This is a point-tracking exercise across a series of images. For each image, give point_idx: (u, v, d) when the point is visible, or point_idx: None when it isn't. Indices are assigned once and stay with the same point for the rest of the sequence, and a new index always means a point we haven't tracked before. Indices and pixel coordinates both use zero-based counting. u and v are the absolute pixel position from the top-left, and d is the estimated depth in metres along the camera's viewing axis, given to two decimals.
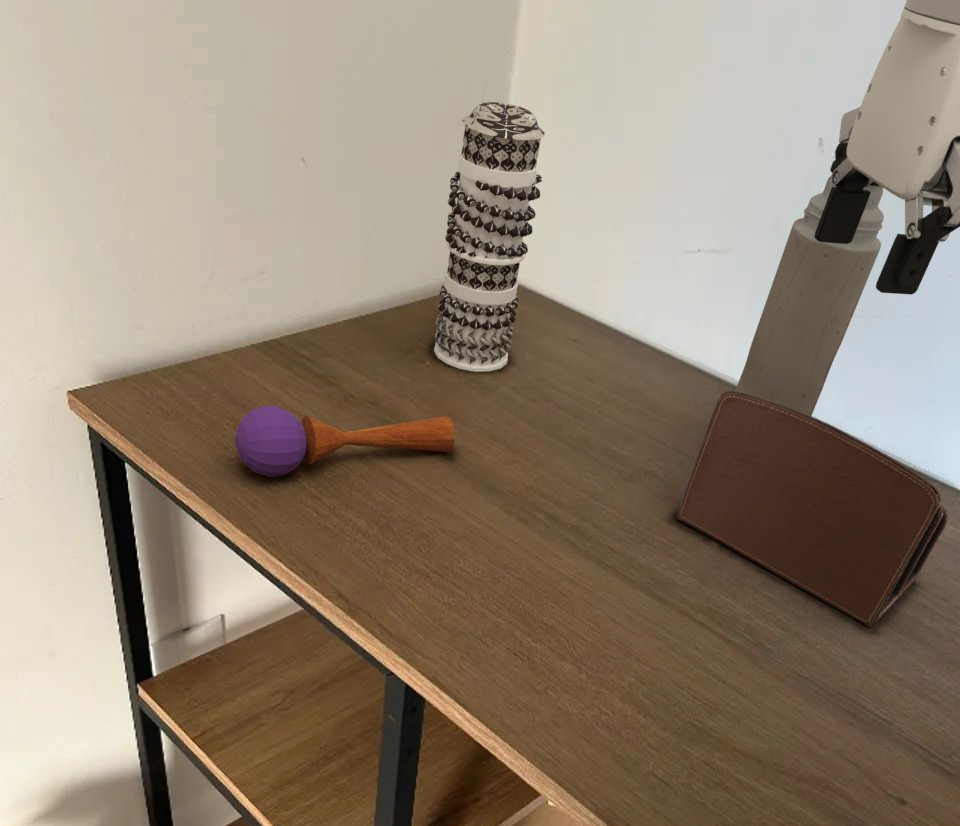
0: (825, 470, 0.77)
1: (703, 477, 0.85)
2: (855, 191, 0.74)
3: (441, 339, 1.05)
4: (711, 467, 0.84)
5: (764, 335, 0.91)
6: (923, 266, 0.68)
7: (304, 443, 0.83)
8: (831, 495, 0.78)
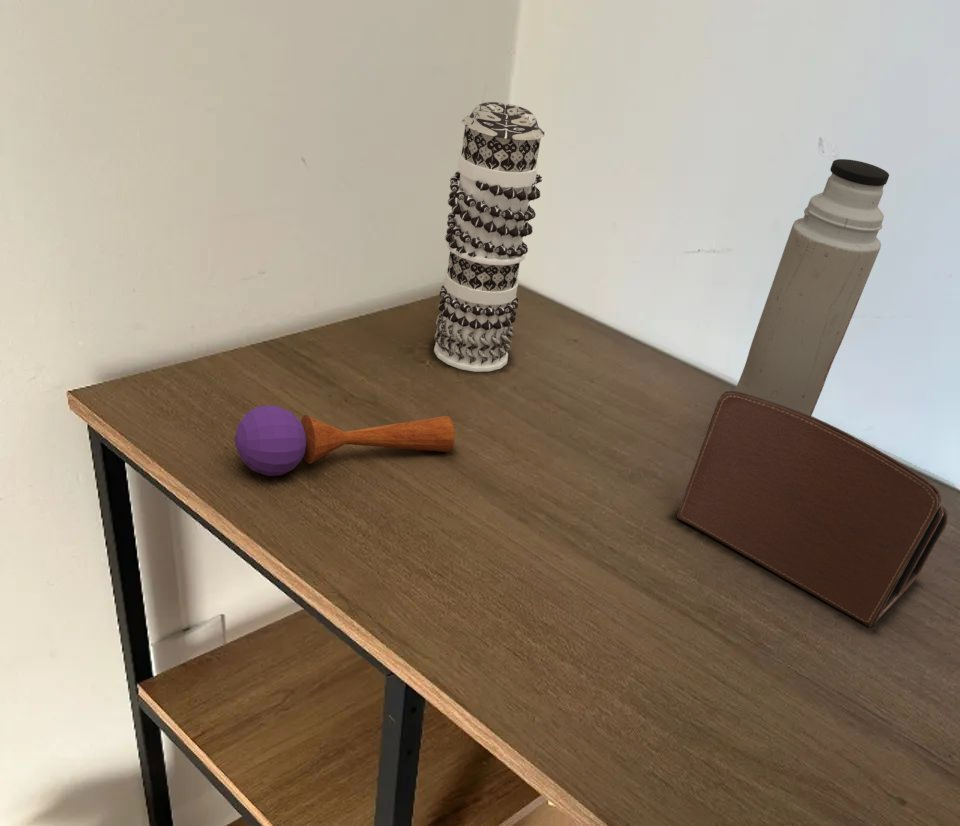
0: (825, 470, 0.77)
1: (703, 476, 0.85)
2: None
3: (441, 339, 1.05)
4: (711, 467, 0.84)
5: (764, 335, 0.91)
6: None
7: (304, 442, 0.83)
8: (832, 495, 0.78)
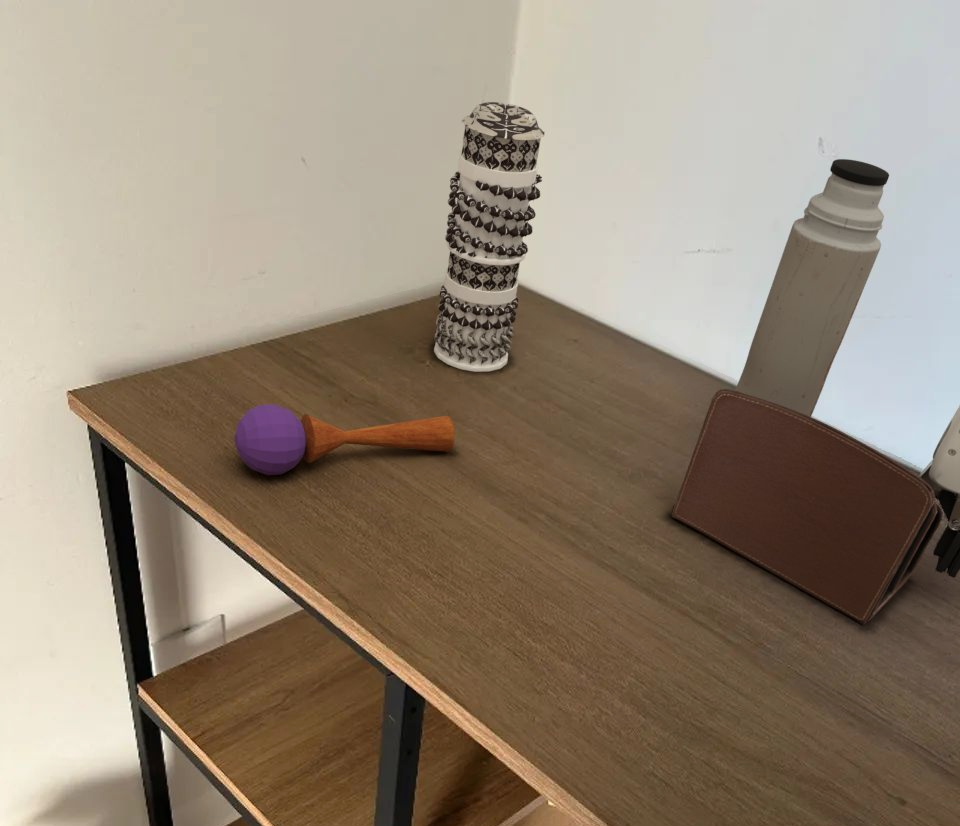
0: (819, 468, 0.77)
1: (698, 475, 0.85)
2: None
3: (441, 339, 1.05)
4: (705, 465, 0.84)
5: (764, 335, 0.91)
6: None
7: (303, 442, 0.83)
8: (826, 493, 0.78)
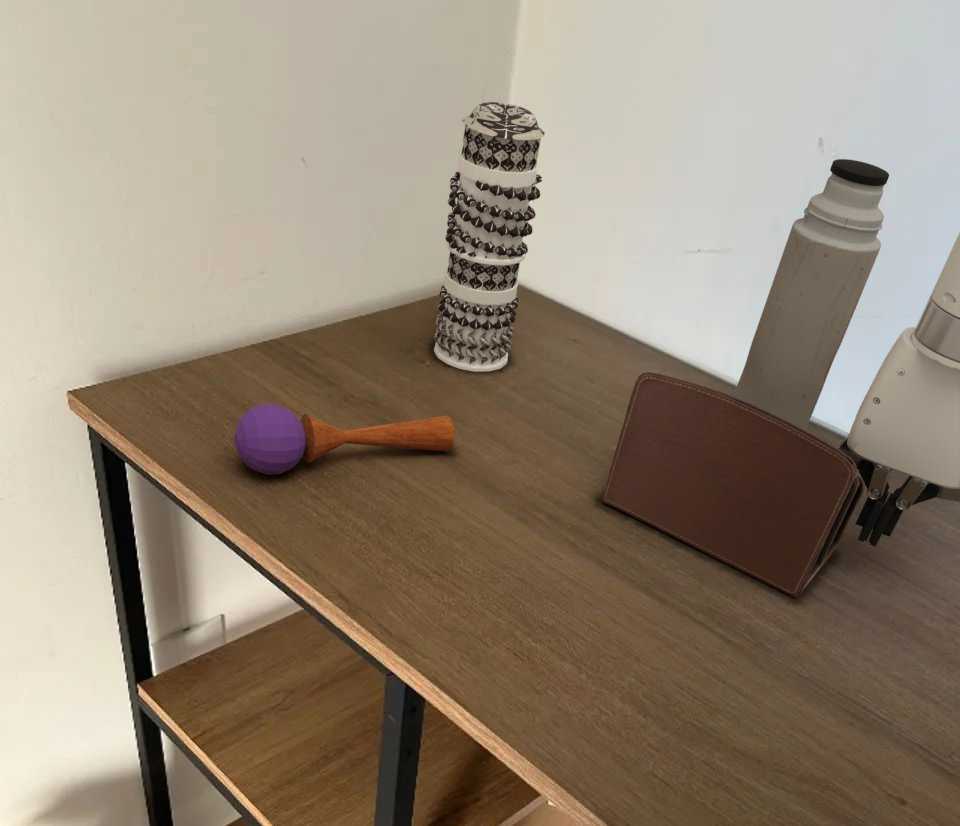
0: (744, 446, 0.78)
1: (625, 459, 0.85)
2: (886, 495, 0.81)
3: (441, 339, 1.05)
4: (632, 449, 0.84)
5: (764, 335, 0.91)
6: None
7: (303, 441, 0.83)
8: (751, 470, 0.79)
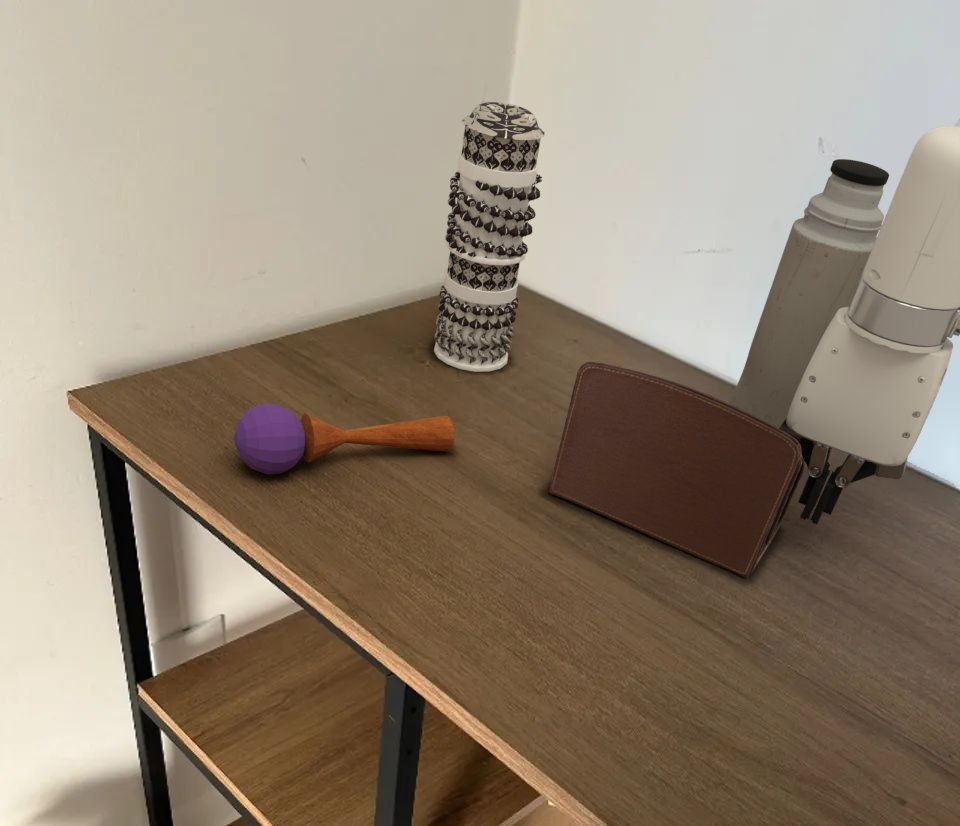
0: (689, 432, 0.79)
1: (571, 449, 0.85)
2: (826, 474, 0.82)
3: (441, 339, 1.05)
4: (578, 439, 0.84)
5: (764, 335, 0.91)
6: None
7: (303, 441, 0.83)
8: (698, 455, 0.79)
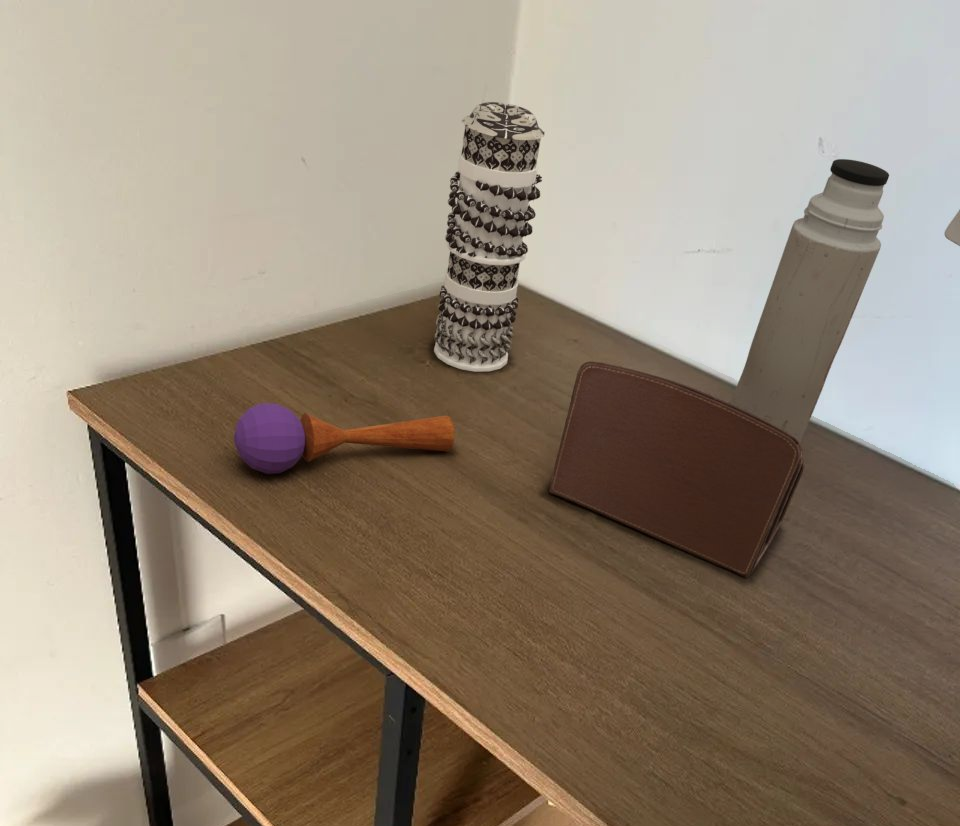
0: (690, 431, 0.79)
1: (571, 449, 0.85)
2: None
3: (441, 339, 1.05)
4: (578, 439, 0.84)
5: (764, 335, 0.91)
6: None
7: (302, 440, 0.83)
8: (698, 455, 0.79)
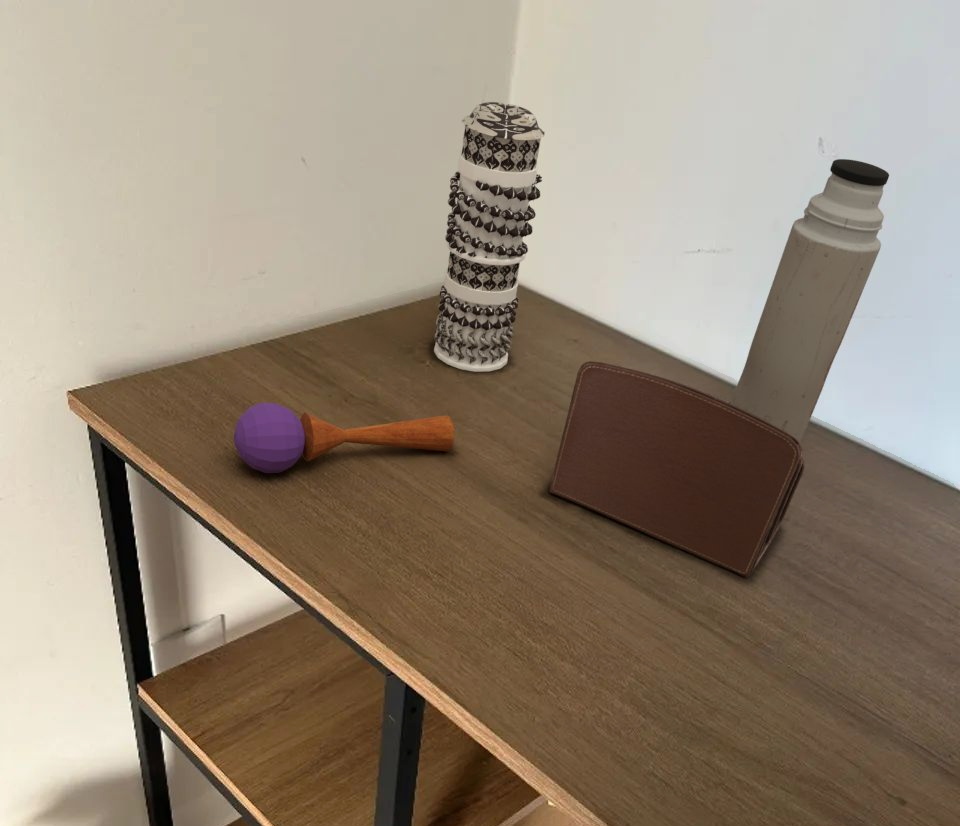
0: (690, 431, 0.79)
1: (571, 449, 0.85)
2: None
3: (441, 339, 1.05)
4: (578, 438, 0.84)
5: (764, 335, 0.91)
6: None
7: (302, 440, 0.83)
8: (698, 454, 0.79)
